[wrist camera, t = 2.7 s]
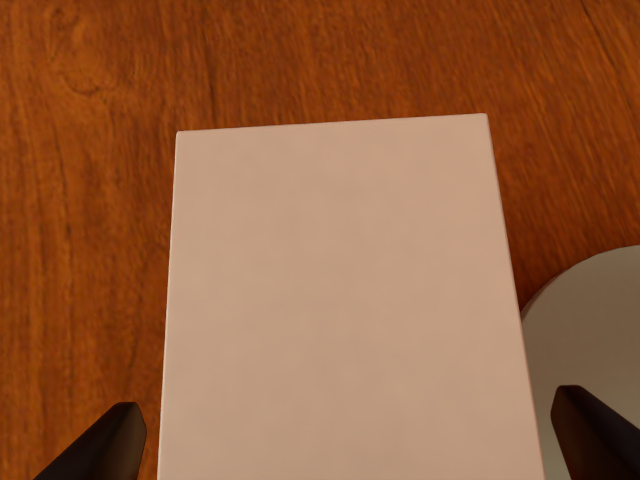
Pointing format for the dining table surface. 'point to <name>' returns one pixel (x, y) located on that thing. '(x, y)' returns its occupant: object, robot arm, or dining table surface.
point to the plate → (585, 341)
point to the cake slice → (343, 307)
